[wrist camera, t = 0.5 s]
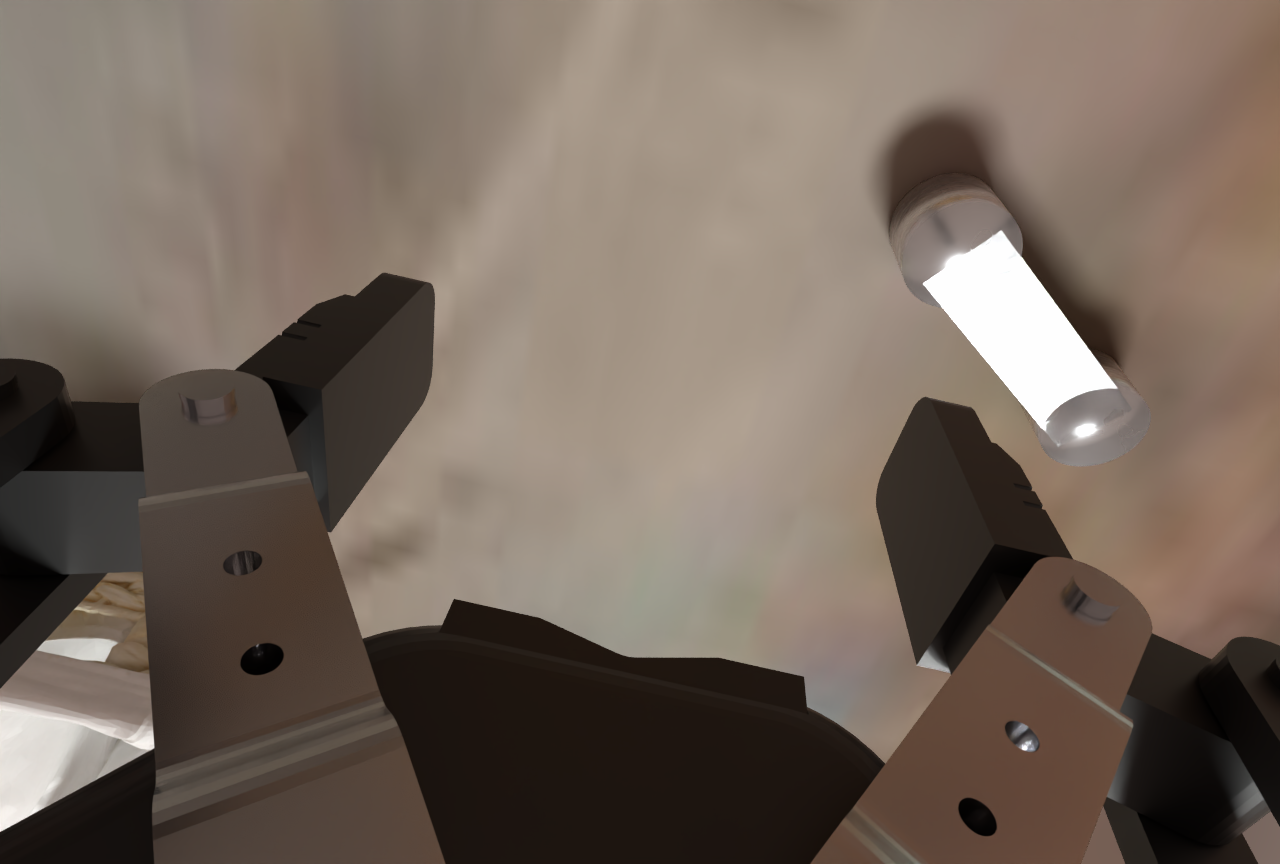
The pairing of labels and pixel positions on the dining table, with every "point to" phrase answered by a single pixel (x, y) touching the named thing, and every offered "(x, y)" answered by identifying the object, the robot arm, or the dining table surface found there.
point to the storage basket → (77, 701)
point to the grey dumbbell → (1014, 319)
